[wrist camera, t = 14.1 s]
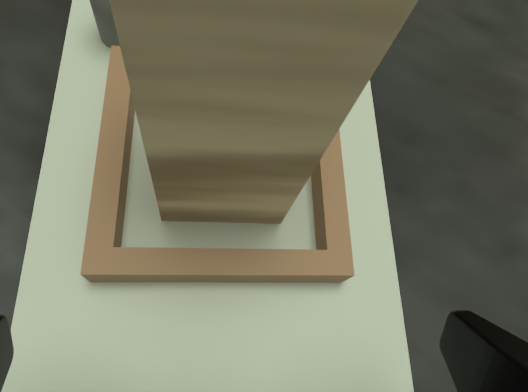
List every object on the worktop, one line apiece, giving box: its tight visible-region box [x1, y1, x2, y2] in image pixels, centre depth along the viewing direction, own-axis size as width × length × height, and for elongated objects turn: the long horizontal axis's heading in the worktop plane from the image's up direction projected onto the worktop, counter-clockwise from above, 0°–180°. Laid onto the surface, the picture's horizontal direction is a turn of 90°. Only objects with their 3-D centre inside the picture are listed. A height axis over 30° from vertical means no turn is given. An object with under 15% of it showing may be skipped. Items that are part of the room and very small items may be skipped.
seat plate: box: [1, 0, 414, 392], centre depth 17 cm, size 22×15×5 cm
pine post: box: [109, 0, 418, 224], centre depth 13 cm, size 5×5×13 cm
